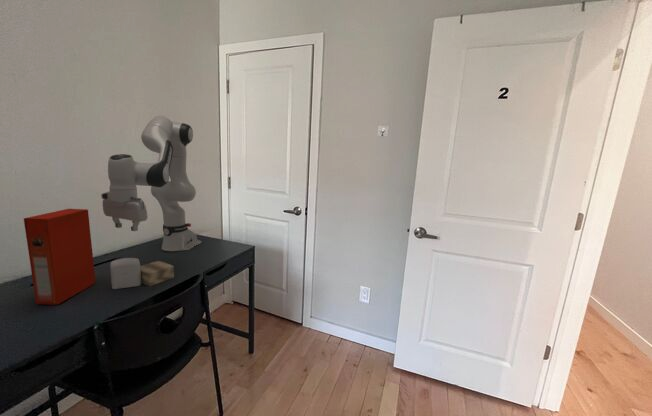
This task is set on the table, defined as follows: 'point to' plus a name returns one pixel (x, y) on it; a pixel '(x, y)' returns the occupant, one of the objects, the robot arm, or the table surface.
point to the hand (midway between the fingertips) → (126, 229)
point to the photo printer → (125, 273)
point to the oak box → (156, 272)
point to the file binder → (60, 254)
